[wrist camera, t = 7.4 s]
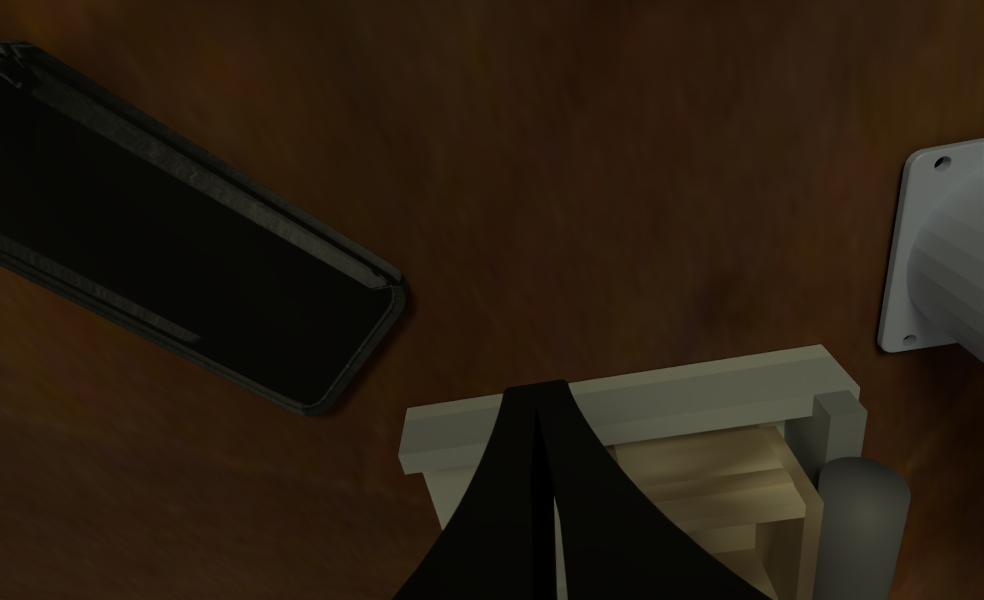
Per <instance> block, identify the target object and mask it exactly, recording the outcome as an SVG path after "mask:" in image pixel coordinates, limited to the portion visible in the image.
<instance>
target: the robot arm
mask: <svg viewBox="0 0 984 600" xmlns="http://www.w3.org/2000/svg"><path fill="white" fill-rule="evenodd" d="M941 157H943V161H942V163H941V164H940V165H939V166H938V167H936V168H934V165H935V163H936V161H937V160H938V159H939V158H941ZM909 335H910V336H909ZM906 336H909V337H908V338H907V339H905V340H903V339H904V338H905V337H906ZM877 342H878V345H879V346H880V347H881V348H882V349H883V350H884V351H886V352H900V351H906V350H913V349H919V348H926V347H933V346H939V345H946V344H952V343H959V344H960V345H962V346H963V347H964V348H965V349H967V350H968V351H969V352H970V353H972V354H973V355H974V356H975V357H977V358H978V359H979V360H981V361H982V362H983V363H984V138H981V139H976V140H970V141H965V142H959V143H954V144H948V145H943V146H937V147H932V148H926V149H921V150H919V151H916V152H915V153H913V154H912V155H911V156H910V157H909V158H908V159H907V161H906V163H905V166H904V171H903V178H902V184H901V191H900V197H899V203H898V210H897V216H896V223H895V229H894V236H893V242H892V248H891V255H890V261H889V268H888V274H887V281H886V287H885V293H884V300H883V306H882V313H881V319H880V325H879V332H878V338H877ZM554 497H555V501H556V506H557V510H558V514H559V519H560V527H561V537H562V546H563V556H564V566H565V577H566V587H567V598H568V600H773V599H771V598H770V597H768V596H767V595H765V594H764V593H762V592H761V591H760V590H758V589H757V588H755V587H754V586H752V585H751V584H749V583H748V582H747V581H745V580H744V579H742V578H741V577H740V576H738V575H737V574H735V573H734V572H733V571H731V570H730V569H729V568H727V567H726V566H725V565H723V564H722V563H721V562H720V561H718V560H717V559H716V558H714V557H713V556H712V555H711V554H709V553H708V552H707V551H705V550H704V549H703V548H702V547H701V546H700V545H698V544H697V543H696V542H695V541H694V540H693V539H691V538H690V537H689V536H688V535H687V534H686V533H685V532H683V531H682V530H681V529H680V528H679V527H678V526H676V525H675V524H674V523H673V522H672V521H671V520H670V519H669V518H667V517H666V516H665V515H664V514H663V513H662V512H661V511H660V510H659V509H658V508H657V507H656V506H655V505H654V504H653V503H652V502H651V501H650V500H649V499H648V498H647V497H646V496H645V495H644V493H643V492H642V491H641V490H640V489H639V488H638V487H637V486H636V485H635V484H634V483H633V482H632V480H631V479H630V478H629V477H628V476H627V475H626V473H625V472H624V471H623V470H622V469H621V467H620V466H619V465H618V464H617V462H616V461H615V460H614V459H613V458H612V456H611V455H610V454H609V452H608V451H607V450H606V448H605V447H604V446H603V444H602V443H601V441H600V440H599V438H598V437H597V436H596V434H595V433H594V431H593V430H592V428H591V427H590V425H589V424H588V422H587V421H586V419H585V417H584V416H583V414H582V412H581V411H580V409H579V407H578V405H577V403H576V401H575V399H574V397H573V395H572V393H571V390H570V388H569V384H568V383H567V382H566V381H564V380H563V379H562V380H555V381H549V382H542V383H536V384H529V385H523V386H516V387H510V388H507V389H506V390H505V391H504V392H503V397H502V401H501V405H500V409H499V412H498V416H497V419H496V422H495V425H494V428H493V431H492V433H491V436H490V438H489V441H488V443H487V446H486V448H485V451H484V454H483V456H482V458H481V461H480V463H479V465H478V467H477V469H476V471H475V473H474V475H473V477H472V480H471V482H470V484H469V486H468V488H467V490H466V492H465V494H464V496H463V497H462V499H461V501H460V503H459V505H458V507H457V508H456V510H455V512H454V513H453V515H452V517H451V518H450V520H449V522H448V523H447V525H446V527H445V528H444V530H443V531H442V533H441V534H440V536H439V537H438V539H437V540H436V542H435V543H434V545H433V546H432V548H431V549H430V551H429V552H428V554H427V555H426V556H425V558H424V559H423V561H422V562H421V563H420V565H419V566H418V567H417V569H416V570H415V571H414V572H413V574H412V575H411V576H410V577H409V579H408V580H407V581H406V582H405V584H404V585H403V586H402V587H401V589H400V590H399V591H398V592H397V594H396V595H395V596H394V597H393V598H392V600H558V598H557V573H556V540H555V509H554Z"/></svg>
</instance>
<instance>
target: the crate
mask: <svg viewBox="0 0 984 600" xmlns="http://www.w3.org/2000/svg"><path fill="white" fill-rule="evenodd" d="M604 447H605V448H606V450H607V451H608V452H609V454H610V455H611V456H612V458H613V459H614V460H615V461H616V462H617V464H618V465H619V466H620V467H621V469H622V470H623V471H624V472H625V473H626V475H627V476H628V477H629V478H630V479H631V480H632V482H633V483H634V484H635V485H636V486H637V487H638V488H639V489H640V490H641V491H642V492H643V493H644V495H645V496H646V497H647V498H648V499H649V500H650V501H651V502H652V503H653V504H654V505H655V506H656V507H657V508H658V509H659V510H660V511H661V512H662V513H663V514H664V515H665V516H666V517H667V518H669V519H670V520H671V521H672V522H673V523H674V524H675V525H676V526H678V527H679V528H680V529H681V530H682V531H683V532H685V533H686V534H687V535H688V536H689V537H690V538H691V539H693V540H694V541H695V542H696V543H697V544H698V545H700V546H701V547H702V548H703V549H704V550H705V551H707V552H708V553H709V554H711V555H712V556H713V557H714V558H716V559H717V560H718V561H720V562H721V563H722V564H723V565H725V566H726V567H727V568H729V569H730V570H731V571H733V572H734V573H735V574H737V575H738V576H740V577H741V578H742V579H744V580H745V581H747V582H748V583H749V584H751V585H752V586H754V587H755V588H757V589H758V590H760V591H761V592H762V593H764V594H765V595H767V596H768V597H770V598H771V599H773V600H812V598H813V589H814V581H815V573H816V565H817V557H818V549H819V540H820V532H821V524H822V516H823V508H824V502H823V500H822V499H821V497H820V496H819V494H818V493H817V491H816V489H815V488H814V486H813V485H812V483H811V481H810V480H809V478H808V477H807V475H806V474H805V472H804V470H803V469H802V467H801V466H800V464H799V462H798V461H797V459H796V458H795V456H794V454H793V453H792V451H791V450H790V448H789V447H788V445H787V443H786V442H785V440H784V439H783V437H782V435H781V434H780V432H779V431H778V429H777V428H776V426H775V424H774V423H773V422H767V423H760V424H753V425H746V426H739V427H732V428H725V429H718V430H711V431H704V432H697V433H690V434H683V435H676V436H669V437H662V438H655V439H648V440H641V441H635V442H628V443H621V444H614V445H607V446H604Z"/></svg>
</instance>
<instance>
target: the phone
mask: <svg viewBox="0 0 984 600" xmlns="http://www.w3.org/2000/svg"><path fill="white" fill-rule="evenodd" d="M0 266H2V267H4V268H6V269H8V270H10V271H12V272H14V273H16V274H18V275H20V276H22V277H24V278H26V279H28V280H30V281H32V282H34V283H36V284H38V285H40V286H42V287H44V288H46V289H48V290H50V291H52V292H54V293H56V294H58V295H60V296H62V297H64V298H66V299H68V300H70V301H72V302H74V303H76V304H77V305H79V306H81V307H83V308H85V309H87V310H89V311H91V312H93V313H95V314H97V315H99V316H101V317H103V318H105V319H107V320H109V321H111V322H113V323H115V324H117V325H119V326H121V327H123V328H125V329H127V330H129V331H131V332H133V333H135V334H137V335H139V336H141V337H143V338H145V339H147V340H149V341H151V342H153V343H155V344H157V345H159V346H161V347H163V348H165V349H167V350H169V351H171V352H173V353H175V354H177V355H179V356H181V357H183V358H185V359H187V360H189V361H191V362H193V363H195V364H197V365H199V366H201V367H203V368H205V369H207V370H209V371H211V372H213V373H215V374H217V375H219V376H221V377H223V378H225V379H227V380H229V381H231V382H233V383H235V384H237V385H239V386H241V387H243V388H245V389H247V390H249V391H251V392H253V393H255V394H257V395H259V396H261V397H263V398H264V399H266V400H268V401H270V402H272V403H274V404H276V405H278V406H280V407H282V408H284V409H286V410H288V411H290V412H292V413H295V414H298V415H301V416H317V415H320V414H322V413H325V412H326V411H327V410H328V409H329V408H330V407H331V406H332V405H333V403H334V402H335V401H336V399H337V398H338V397H339V395H340V394H341V393H342V391H343V390H344V389H345V387H346V386H347V385H348V383H349V382H350V381H351V379H352V378H353V377H354V375H355V374H356V373H357V371H358V370H359V369H360V367H361V366H362V365H363V363H364V362H365V361H366V359H367V358H368V357H369V355H370V354H371V353H372V351H373V350H374V349H375V347H376V346H377V345H378V343H379V342H380V341H381V339H382V338H383V337H384V335H385V334H386V333H387V331H388V330H389V329H390V327H391V326H392V325H393V324H394V322H395V321H396V320H397V318H398V317H399V316H400V314H401V312H402V310H403V308H404V306H405V303H406V299H407V293H408V286H407V282H406V279H405V278H404V276H403V275H402V273H401V272H400V271H399V270H398V269H397V268H395V267H394V266H393V265H391V264H390V263H388V262H387V261H385V260H383V259H382V258H380V257H378V256H377V255H375V254H373V253H372V252H370V251H369V250H367V249H365V248H364V247H362V246H360V245H359V244H357V243H356V242H354V241H352V240H351V239H349V238H347V237H346V236H344V235H343V234H341V233H339V232H338V231H336V230H334V229H333V228H331V227H330V226H328V225H326V224H325V223H323V222H321V221H320V220H318V219H317V218H315V217H313V216H312V215H310V214H308V213H307V212H305V211H304V210H302V209H300V208H299V207H297V206H295V205H294V204H292V203H290V202H289V201H287V200H286V199H284V198H282V197H281V196H279V195H277V194H276V193H274V192H273V191H271V190H269V189H268V188H266V187H264V186H263V185H261V184H260V183H258V182H256V181H255V180H253V179H251V178H250V177H248V176H247V175H245V174H243V173H242V172H240V171H238V170H237V169H235V168H234V167H232V166H230V165H229V164H227V163H225V162H224V161H222V160H220V159H219V158H217V157H216V156H214V155H212V154H211V153H209V152H207V151H206V150H204V149H203V148H201V147H199V146H198V145H196V144H194V143H193V142H191V141H190V140H188V139H186V138H185V137H183V136H181V135H180V134H178V133H177V132H175V131H173V130H172V129H170V128H168V127H167V126H165V125H164V124H162V123H160V122H159V121H157V120H155V119H154V118H152V117H151V116H149V115H147V114H146V113H144V112H142V111H141V110H139V109H137V108H136V107H134V106H133V105H131V104H129V103H128V102H126V101H124V100H123V99H121V98H120V97H118V96H116V95H115V94H113V93H111V92H110V91H108V90H107V89H105V88H103V87H102V86H100V85H98V84H97V83H95V82H94V81H92V80H90V79H89V78H87V77H85V76H84V75H82V74H81V73H79V72H77V71H76V70H74V69H72V68H71V67H69V66H67V65H66V64H64V63H63V62H61V61H59V60H58V59H56V58H54V57H53V56H51V55H50V54H48V53H46V52H45V51H43V50H41V49H40V48H38V47H36V46H34V45H32V44H30V43H27V42H25V41H20V40H13V39H11V40H4V41H0Z"/></svg>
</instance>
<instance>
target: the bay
mask: <svg viewBox="0 0 984 600" xmlns="http://www.w3.org/2000/svg"><path fill="white" fill-rule="evenodd" d="M568 384H569V388H570V390H571V393H572V395H573V397H574V399H575V401H576V403H577V405H578V407H579V409H580V411H581V412H582V414H583V416H584V417H585V419H586V421H587V422H588V424H589V425H590V427H591V428H592V430H593V431H594V433H595V434H596V436H597V437H598V438H599V440H600V441H601V443H602V444H603V446H607V445H614V444H621V443H628V442H635V441H641V440H648V439H655V438H662V437H669V436H676V435H683V434H690V433H697V432H704V431H711V430H718V429H725V428H732V427H739V426H746V425H753V424H760V423H767V422H773V423H774V424H775V426H776V428H777V429H778V431H779V432H780V434H781V435H782V437H783V439H784V440H785V442H786V443H787V445H788V447H789V448H790V450H791V451H792V453H793V454H794V456H795V458H796V459H797V461H798V462H799V464H800V466H801V467H802V469H803V470H804V472H805V474H806V475H807V477H808V478H809V480H810V481H811V483H812V485H813V486H814V488H815V489H816V491H817V493H818V494H819V496H820V497H821V499H822V500H823V502H824V508H823V516H822V524H821V532H820V540H819V549H818V557H817V565H816V573H815V581H814V589H813V598H812V600H888V598H889V593H890V589H891V585H892V580H893V576H894V571H895V567H896V562H897V558H898V553H899V549H900V545H901V540H902V536H903V531H904V527H905V522H906V518H907V513H908V509H909V504H910V500H911V493H910V489H909V487H908V485H907V483H906V482H905V480H904V479H903V478H902V477H901V476H900V475H899V474H898V473H897V472H895V471H894V470H893V469H891V468H889V467H888V466H886V465H884V464H882V463H879V462H877V461H874V460H871V459H866V458H861V451H862V444H863V438H864V432H865V425H866V419H867V413H868V412H867V410H866V409H865V408H864V407H863V406H862V405H861V403H860V402H859V401H858V400H859V393H860V387H859V386H858V385H857V384H856V383H855V381H854V380H853V379H852V378H851V377H850V376H849V375H848V374H847V373H846V371H845V370H844V369H843V368H842V367H841V366H840V365H839V364H838V362H837V361H836V360H835V359H834V358H833V357H832V356H831V355H830V354H829V352H828V351H827V350H826V349H825V348H824V347H823V346H822V345H821V344H820V345H814V346H807V347H801V348H794V349H788V350H781V351H775V352H768V353H762V354H755V355H749V356H742V357H736V358H729V359H723V360H716V361H710V362H703V363H697V364H690V365H684V366H678V367H671V368H665V369H658V370H652V371H645V372H639V373H632V374H626V375H619V376H613V377H606V378H600V379H593V380H587V381H580V382H574V383H568ZM502 397H503V394H496V395H490V396H483V397H477V398H470V399H464V400H457V401H451V402H444V403H438V404H431V405H425V406H418V407H412V408H407V412H406V418H405V423H404V428H403V433H402V439H401V444H400V449H399V454H398V457H399V459H400V462H401V465H402V468H403V470H404V473H405V474H412V473H419V472H423V475H424V478H425V481H426V483H427V486H428V489H429V492H430V495H431V498H432V501H433V504H434V507H435V510H436V513H437V515H438V518H439V521H440V524H441V527H442V530H444V528H445V527H446V525H447V523H448V522H449V520H450V518H451V517H452V515H453V513H454V512H455V510H456V508H457V507H458V505H459V503H460V501H461V499H462V497H463V496H464V494H465V492H466V490H467V488H468V486H469V484H470V482H471V480H472V477H473V475H474V473H475V471H476V469H477V467H478V465H479V463H480V461H481V458H482V456H483V454H484V451H485V448H486V446H487V443H488V441H489V438H490V436H491V433H492V431H493V428H494V425H495V422H496V419H497V416H498V412H499V409H500V405H501V401H502ZM554 509H555V540H556V573H557V598H558V600H568V598H567V587H566V577H565V566H564V556H563V546H562V537H561V527H560V519H559V514H558V510H557V506H556V501H555V497H554Z"/></svg>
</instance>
